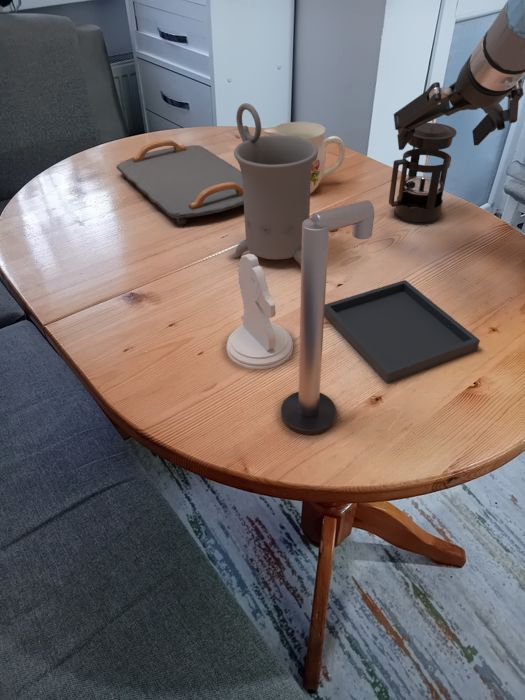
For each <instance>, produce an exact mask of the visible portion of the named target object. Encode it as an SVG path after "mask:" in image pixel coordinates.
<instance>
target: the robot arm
mask: <svg viewBox="0 0 525 700" xmlns="http://www.w3.org/2000/svg"><path fill="white" fill-rule="evenodd" d="M524 76H525V0H507V1H506V2H505V4H504V6H503V7H502V9H501V10H500V12H499V13H498V15H497V16H496V17H495V19H494V20H493V21H492V24H491V25H490V26H489V28H488V29H487V31H486V32H485V33H484V35H483V36H482V38H481V39H480V40H479V41H478V43H477V44H476V46H475V47H474V49H473V51H472V53H471V54H470V55H469V57H468V58H467V60H466V61H465V63H464V64H463V65H462V67H461V69H460V70H459V73H458V75H457V78H456V81H455V82H453V83H452V84H450V85H449V86H448V87H441V83H440V82H439V81H436V82H433V83H432V84H431V85H430V86H429V87H428V88H427V89H426V91H424V92H422V93H421V94H420V95H419V96H417V97H416V98H414V99H412V101H409V103H406V105H404V106H403V107H402V108H400V109H398V110H397V111H396V112H395V113H393V122H394V130H396V131H397V135H396V136H397V137H396V138H397V144H398V145H397V147H398V151H403V150H404V149H405V148H406V146H407V145H408V142H409V140H410V139H411V137H412V136H413V134H414V133H415V128H417V127H419V126H421V125H423V124H425V123H431V122H432V120H434V121H435V120H436V119H438V118H440V117H442V116H444V115H445V116H446V117H450V116H451V115H454V114H456V113H459V112H460V111H467V110H468V111H476V110H478V109H481V110H482V111H483V112H484V113H485V116H484V117H483V118H482V120H480V122H478V124H477V125H475V127H474V128H473V129H472V131H471V132H472V140H473V141H472V142H473V146H479V145H480V144H481V143H482V142H483V141H484V140H485V139H486V138H487V137H488V136H489V135H490V134H491V133H493V132H494V131H496V130H497V131H502V130H504V129H506V122H508V123H509V124H514V123H517V122H518V117H519V103H520V100H521V99H522V97H523V96H524V94H525V93H524V86H523V79H522V78H523V77H524ZM505 98H507V109H504V108H503V107H502V105H501V102H502V101H503V100H504V99H505ZM450 104H451V106H450Z"/></svg>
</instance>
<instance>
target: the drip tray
mask: <svg viewBox="0 0 525 700" xmlns="http://www.w3.org/2000/svg"><path fill="white" fill-rule="evenodd" d="M324 319H326V320H327V321H328V323H330V325H331V326H332V327H333V328H334V329H335V330H336V331H337V332H338V333H339V334H340V336H342V338H343V339H344V340H345V341H346V342H347V343H348V344H349V345H350V346H351V347H352V348H353V349H354V350H355V351H356V353H358V355H359V356H360V357H361V358H362V359H363V360H364V361H365V362H366V364H367V365H368V366H369V367H370V368H372V370H373V371H374V372H375V373H376V374H377V375H378V376H379V377H380V378H381V379H382V380H383V382H384V383H385V384H387V385H388V384H391V383H393V382H396V381H398V380H401V379H404V378H406V377H409V376H411V375H414V374H418V373H420V372H423V371H425V370H428V369H431V368H434V367H437V366H439V365H441V364H444V363H447V362H449V361H452V360H455V359H457V358H460V357H463V356H466V355H468V354H471V353H474V352H476V351H478V348H479V345H480V342H481V340H480V339H479V338H478V337H477V336H475V334H473V333H472V332H470V331H469V330H468V329H467V328H465V327H464V325H462V324H460V323H459V322H458V321H457V320H456V319H454V318H453V317H452V316H451V315H449V314H448V313H447V312H446V311H445V310H443V309H442V308H441V307H440V306H438V305H437V304H436V303H434V302H433V301H432V300H431V299H429V297H427V296H426V295H425V294H424V293H422V292H421V291H420V290H418V289H417V288H416V287H415V286H413V285H412V284H411V283H410V282H409V281H407V280H406V279H404V280H400V281H397V282H393V283H390V284H387V285H384V286H380V287H377V288H374V289H370V290H367V291H365V292H361V293H358V294H355V295H352V296H351V295H350V296H348V297H345V298H341V299H337V300H334V301H331V302H329V303H325V309H324Z"/></svg>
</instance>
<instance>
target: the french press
mask: <svg viewBox="0 0 525 700" xmlns="http://www.w3.org/2000/svg"><path fill="white" fill-rule="evenodd" d="M457 133H458V131H457V130H456V129H455V128H454V127H452V126H450V125H448V124H443V123H439V122H438V123H437V122H435V119H434V120H432V121H431V122H428V123H425V124H423V125H421V126H419V127H417V128H415V133H414V134H413V136H412V137H411V139H410V140H409V142H408V143H407V145H409V146H411V147H413V148H412V149H409V150H406V151H404V153H403V154H402V159H395V160H393V167H392V171H391V172H392V173H391V180H390V188H389V195H388V204H389V205H390V206H391V207H392V208H394V210H393V215H394V217H395V218H396V219H397V220H399V221H401V222H403V223H406V224H409V225H415V226H427V225H433V224H435V223H436V222H439V221H440V220H441V217H442V207H443V200H444V199H443V195H444V189H445V184H446V179H447V176H448V175H447V174H448V169H450V167H451V163H452V156H451V155H450V154H449V153H447V152H446V151H443V150H445V149H448V148H450V147H451V146H452V143H453V139H454V138H455V137H456V136H457ZM421 156H425V160H424V164H419V163H420V157H421ZM429 156H431V157H435V158H440V159H442V160H443V161H442V164H434V165H427V164H428V159H429ZM408 158H410V160H408ZM400 166H401V174H400V181H399V187H398V188H399V189H398V195H397V196H396V190H397V182H398V174H399V167H400ZM408 170H409V171H408ZM407 173H408V177H407ZM418 173H422V175H418ZM426 173H427V174H431V175H430V176H426ZM395 197H396V200H395ZM415 207H422V208H415Z"/></svg>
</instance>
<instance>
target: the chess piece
mask: <svg viewBox="0 0 525 700" xmlns="http://www.w3.org/2000/svg"><path fill="white" fill-rule="evenodd" d="M259 263H260V262H259V258H258V256H256V255H254V254H253V253H247V254H244V255H243V254H242V255H241V256H240V259H239V261H238V269H237V272H238V274H237V276H238V284H239V289H240V294H241V298H242V304H243V315H242V316H241V320H242V325H240V326H238V327H237V328H235V330H233V331H232V333H231V334H230V335H229V337H228V338H227V342H226V353H227V355H228V358H229V359H230V360H231V361H232V362H233V363H234V364H236V365H237V366H240V367H241V368H245V369H249V370H256V371H257V370H259V371H260V370H268V369H272V368H276V367H278V366H280V365H282V364H284V363H285V362H287V360H288V359H289V358H290V357H291V355H292V354H293V351H294V342H293V339H292V335H290V333H289V332H288V331H287V330H286V329H285V328H284V327H282V326H281V325H279V324H277V323H275V322H273V321H272V322H271V320H270V319H272V318H274V317H275V316H276V304H275V302H274V300H273V298H272V296H271V294H270V291H269V286H268V283H267V278H266V275H265V272H264V270H263V268H262V266H261V265H260V264H259Z"/></svg>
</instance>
